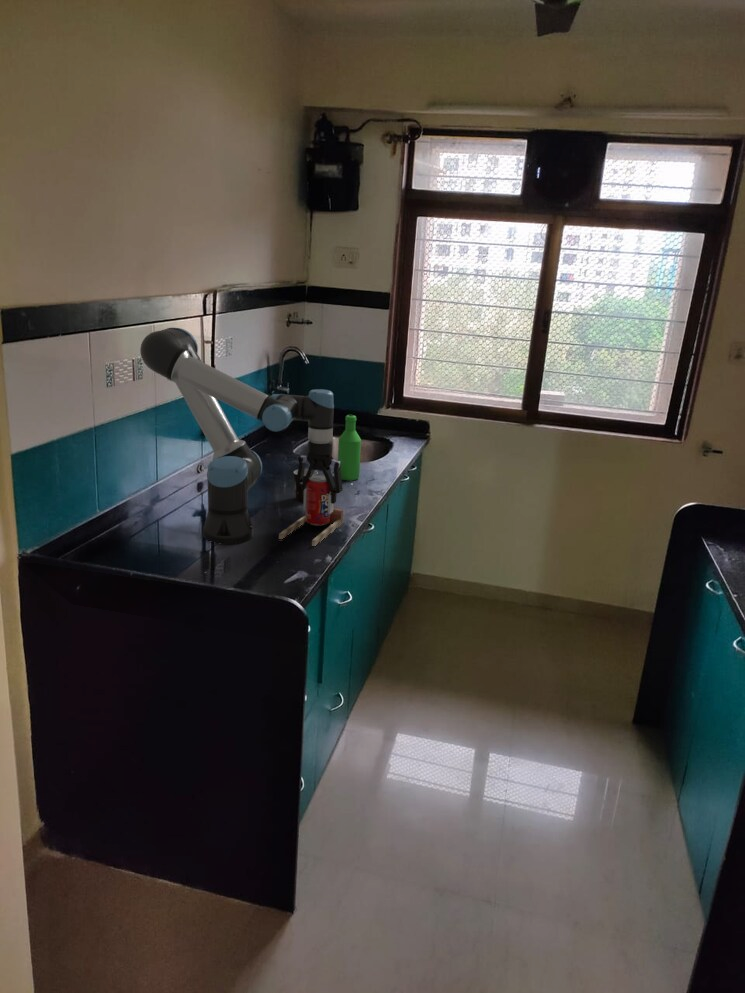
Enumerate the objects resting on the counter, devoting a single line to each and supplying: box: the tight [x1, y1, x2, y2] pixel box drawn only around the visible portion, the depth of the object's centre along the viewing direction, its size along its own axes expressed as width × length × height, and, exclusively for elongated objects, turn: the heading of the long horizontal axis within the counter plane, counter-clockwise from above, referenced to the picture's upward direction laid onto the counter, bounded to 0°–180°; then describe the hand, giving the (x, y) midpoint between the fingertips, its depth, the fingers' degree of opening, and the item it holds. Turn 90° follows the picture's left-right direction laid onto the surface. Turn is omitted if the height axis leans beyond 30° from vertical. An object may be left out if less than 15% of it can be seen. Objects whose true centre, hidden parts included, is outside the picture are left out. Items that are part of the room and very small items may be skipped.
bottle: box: [337, 414, 362, 482], centre depth 274 cm, size 9×9×25 cm
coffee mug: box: [293, 468, 319, 503], centre depth 251 cm, size 12×9×10 cm
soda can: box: [305, 474, 331, 527], centre depth 223 cm, size 8×8×15 cm
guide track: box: [278, 507, 344, 547], centre depth 221 cm, size 22×12×5 cm, turn 160°
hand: (318, 510), depth 224 cm, fingers closed on soda can, 8 cm apart
